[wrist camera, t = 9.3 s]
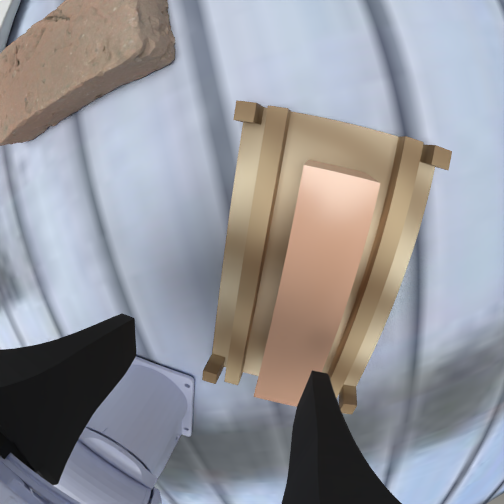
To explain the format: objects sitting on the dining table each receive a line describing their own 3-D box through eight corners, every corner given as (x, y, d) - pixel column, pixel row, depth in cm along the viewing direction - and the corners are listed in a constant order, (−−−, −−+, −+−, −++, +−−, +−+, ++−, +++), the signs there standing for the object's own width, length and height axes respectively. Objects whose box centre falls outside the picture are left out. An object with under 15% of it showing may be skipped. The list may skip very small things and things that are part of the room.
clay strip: (311, 361, 20) (306, 408, 16) (267, 351, 21) (253, 396, 17) (365, 172, 16) (380, 183, 11) (308, 159, 16) (303, 164, 12)
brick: (164, -26, 14) (130, -52, 10) (182, 65, 17) (144, 48, 12) (21, 68, 19) (-15, 67, 15) (29, 145, 21) (-10, 151, 17)
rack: (351, 386, 22) (351, 414, 19) (215, 355, 23) (202, 380, 21) (432, 149, 15) (452, 151, 12) (250, 106, 17) (236, 100, 14)
